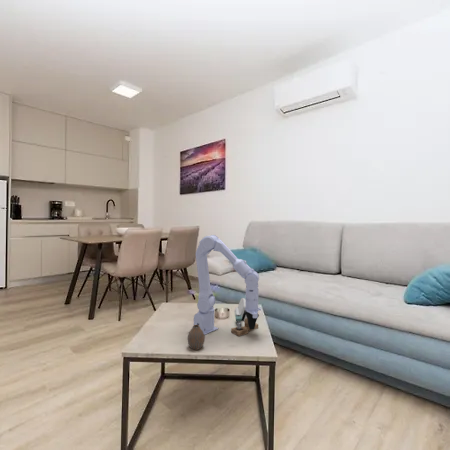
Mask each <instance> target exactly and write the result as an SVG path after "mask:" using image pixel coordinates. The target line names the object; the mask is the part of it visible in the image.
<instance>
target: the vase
mask: <svg viewBox="0 0 450 450" xmlns="http://www.w3.org/2000/svg"><path fill="white" fill-rule="evenodd" d="M205 339H206V336H205V335H204V333H203V331H202V330H201V328H200V327H199V325H194V324H193V326H192V327H191V329H190V330H189V332H188V333H187V345H188V347H190V349H192V350H200V349H201V348H202V347H203V346H204V344H205Z"/></svg>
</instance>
